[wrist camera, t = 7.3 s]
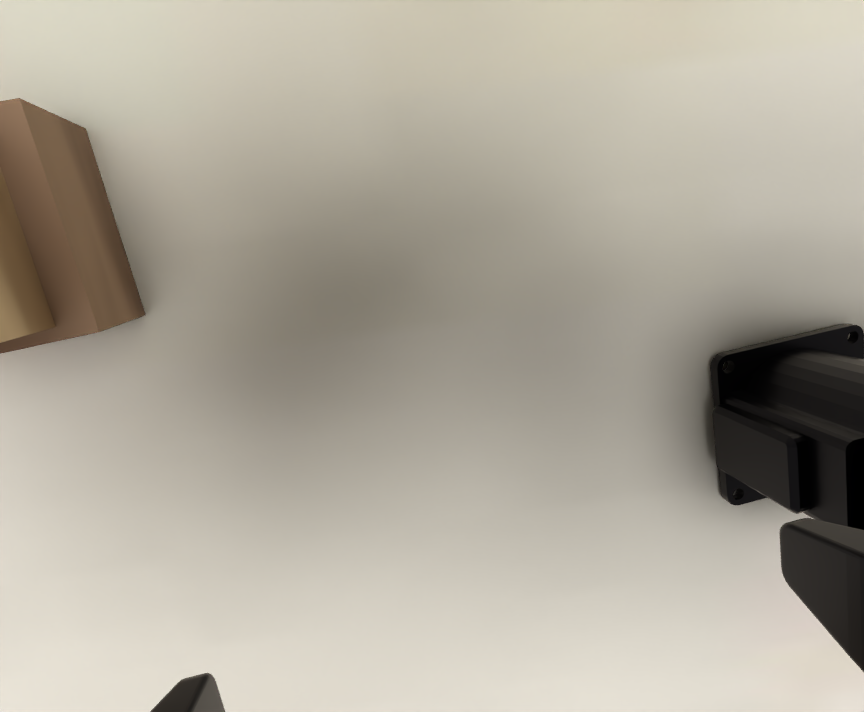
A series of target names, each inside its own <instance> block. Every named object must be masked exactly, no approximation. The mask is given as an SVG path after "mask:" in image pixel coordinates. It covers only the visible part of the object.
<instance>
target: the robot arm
mask: <svg viewBox="0 0 864 712" xmlns="http://www.w3.org/2000/svg"><path fill="white" fill-rule="evenodd" d="M849 333H850V336H849V339H848V340H847V337H848V334H849ZM725 362H728V366H727V368H726V369H725V370H724V371H723V365H724V363H725ZM711 379H712V391H713V403H714V410H713V424H714V436H715V448H716V460H717V467H718V468H719V475H720V487H721V495H722V497H723V498H724V499H725V500H726V501H727V502H729V503H730V504H733V505H741V504H745V503H749V502H752V501H756V500H760V499H763V498H767V497H768V498H769V499H771V500H773V501H774V502H776V503H778V504H780V505H781V506H783V507H785V508H786V509H788V510H790V511H791V512H793V513H796V514H798V513H801V512H803V513H805V514H806V515H808V516H810V517H812V518H813V519H810V518H803V519H799V520H796V521H792V522H788V523H785V524H784V525H782V527H781V529H780V549H781V568H782V572H783V576H784V578H785V580H786V582H787V583H788V585H789V586H790V588H791V589H792V590H793V591H794V592H795V593H796V595H797V596H798V597H799V598H800V599H801V600H802V602H803V603H804V604H805V605H806V606H807V607H808V609H809V610H810V611H811V612H812V613H813V614H814V616H815V617H816V618H817V619H818V620H819V621H820V623H821V624H822V625H823V626H824V627H825V628H826V630H827V631H828V632H829V633H830V634H831V635H832V637H833V638H834V639H835V640H836V641H837V642H838V644H839V645H840V646H841V647H842V648H843V649H844V651H845V652H846V653H847V654H848V655H849V656H850V657H851V659H852V660H853V661H854V662H855V663H856V664H857V665H858V666H859V667H860V669H861V670H862V671H863V672H864V333H863V330H862V328H861V327H859V326H857V325H852V324H841V325H837V326H833V327H829V328H824V329H820V330H816V331H812V332H807V333H803V334H799V335H795V336H791V337H786V338H782V339H778V340H774V341H769V342H765V343H761V344H757V345H752V346H748V347H744V348H740V349H735V350H731V351H727V352H723V353H720V354H717V355H716V356H715V357H714V358H713V360H712V362H711ZM736 489H737V492H736V494H734V495H733V492H734V491H735V490H736ZM150 712H225V710H224V706H223V703H222V700H221V697H220V694H219V690H218V687H217V684H216V681H215V679H214V677H213V676H212V675H211V674H209V673H204V674H200V675H196V676H193V677H189V678H185V679H182V680H181V681H180V682H178V683H177V684H176V685H175V686H174V687H173V689H172V690H171V691H170V692H169V693H168V694H167V695H166V696H165V697H164V698H163V699H162V700H161V701H160V702H159V703H158V704H157V705H156V706H155V707H154V708H153V709H152V710H151V711H150Z"/></svg>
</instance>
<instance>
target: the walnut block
mask: <svg viewBox="0 0 864 712" xmlns="http://www.w3.org/2000/svg"><path fill="white" fill-rule="evenodd" d="M0 168H1V171H2V174H3V176H4V179H5V182H6V185H7V188H8V191H9V194H10V197H11V199H12V202H13V205H14V208H15V211H16V214H17V217H18V220H19V222H20V225H21V228H22V231H23V234H24V237H25V240H26V243H27V245H28V248H29V251H30V254H31V257H32V260H33V263H34V265H35V268H36V271H37V274H38V277H39V280H40V283H41V286H42V288H43V291H44V294H45V297H46V300H47V303H48V306H49V309H50V311H51V314H52V317H53V320H54V323H55V326H56V327H54V328H50V329H47V330H43V331H40V332H36V333H33V334H29V335H26V336H22V337H19V338H15V339H12V340H8V341H5V342H1V343H0V353H5V352H9V351H14V350H19V349H23V348H28V347H32V346H37V345H42V344H46V343H51V342H55V341H60V340H65V339H69V338H74V337H78V336H83V335H88V334H92V333H97V332H101V331H103V330H106V329H109V328H111V327H114V326H117V325H120V324H122V323H125V322H128V321H131V320H133V319H136V318H139V317H142V316H144V315H145V312H144V309H143V306H142V303H141V299H140V296H139V293H138V290H137V287H136V284H135V281H134V278H133V275H132V271H131V268H130V265H129V262H128V259H127V256H126V253H125V250H124V247H123V243H122V240H121V237H120V234H119V231H118V228H117V225H116V222H115V219H114V215H113V212H112V209H111V206H110V203H109V200H108V197H107V194H106V191H105V187H104V184H103V181H102V178H101V175H100V172H99V169H98V166H97V163H96V159H95V156H94V153H93V150H92V147H91V144H90V141H89V138H88V135H87V131H86V129H85V128H83V127H81V126H79V125H76V124H74V123H72V122H70V121H68V120H66V119H63V118H61V117H59V116H57V115H55V114H53V113H50V112H48V111H46V110H44V109H42V108H39V107H37V106H35V105H33V104H31V103H29V102H26V101H24V100H22V99H20V98H18V99H12V100H6V101H0Z"/></svg>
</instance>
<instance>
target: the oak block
mask: <svg viewBox="0 0 864 712" xmlns="http://www.w3.org/2000/svg"><path fill="white" fill-rule="evenodd" d="M54 327H56V326H55V323H54V320H53V317H52V314H51V311H50V309H49V306H48V303H47V300H46V297H45V294H44V291H43V288H42V286H41V283H40V280H39V277H38V274H37V271H36V268H35V265H34V263H33V260H32V257H31V254H30V251H29V248H28V245H27V243H26V240H25V237H24V234H23V231H22V228H21V225H20V222H19V220H18V217H17V214H16V211H15V208H14V205H13V202H12V199H11V197H10V194H9V191H8V188H7V185H6V182H5V179H4V176H3V174H2V171H1V168H0V343H1V342H5V341H8V340H12V339H15V338H19V337H22V336H26V335H29V334H33V333H36V332H40V331H43V330H47V329H50V328H54Z"/></svg>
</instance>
